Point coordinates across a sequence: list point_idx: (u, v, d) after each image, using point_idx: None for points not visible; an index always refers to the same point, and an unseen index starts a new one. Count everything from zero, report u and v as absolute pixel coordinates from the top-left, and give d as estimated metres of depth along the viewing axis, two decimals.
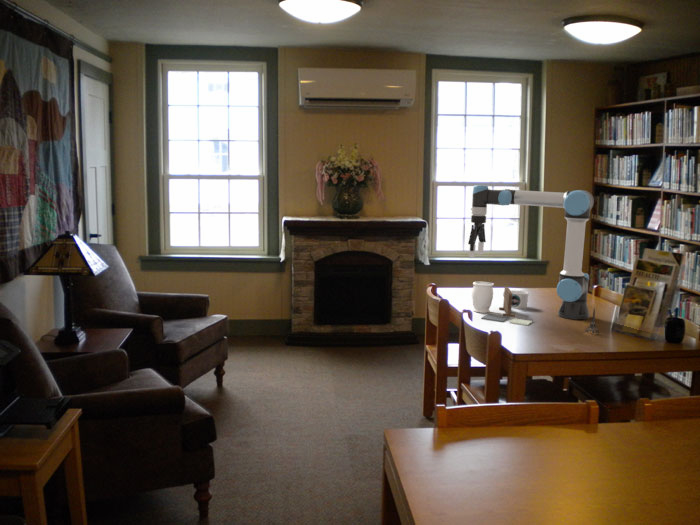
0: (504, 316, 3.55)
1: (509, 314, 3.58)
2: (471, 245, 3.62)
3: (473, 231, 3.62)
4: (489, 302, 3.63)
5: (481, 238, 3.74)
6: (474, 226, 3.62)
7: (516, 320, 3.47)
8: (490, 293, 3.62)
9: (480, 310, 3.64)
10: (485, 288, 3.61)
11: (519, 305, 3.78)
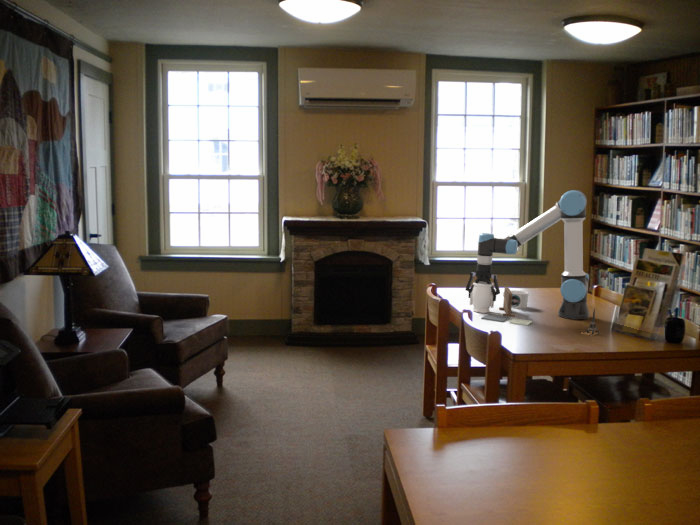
0: (504, 316, 3.55)
1: (509, 314, 3.58)
2: None
3: None
4: (489, 302, 3.63)
5: None
6: None
7: (516, 320, 3.47)
8: (490, 293, 3.62)
9: (480, 310, 3.64)
10: (485, 287, 3.61)
11: (519, 305, 3.78)
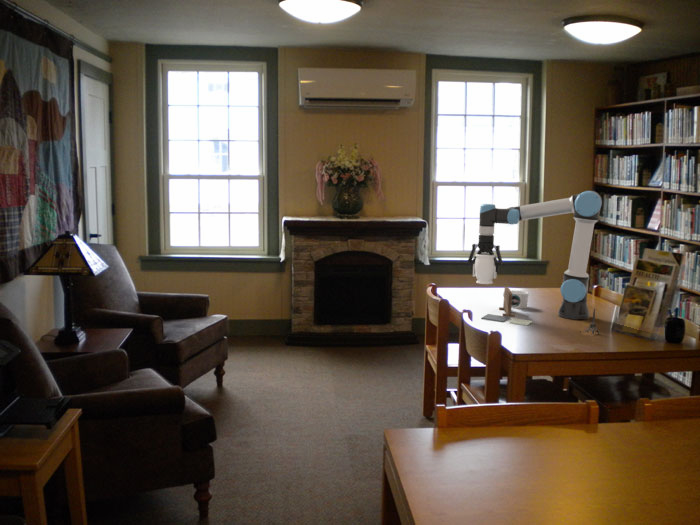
0: (504, 316, 3.55)
1: (509, 314, 3.58)
2: None
3: None
4: (492, 273, 3.61)
5: None
6: None
7: (516, 320, 3.47)
8: (492, 264, 3.60)
9: (483, 281, 3.62)
10: (487, 258, 3.59)
11: (519, 305, 3.78)
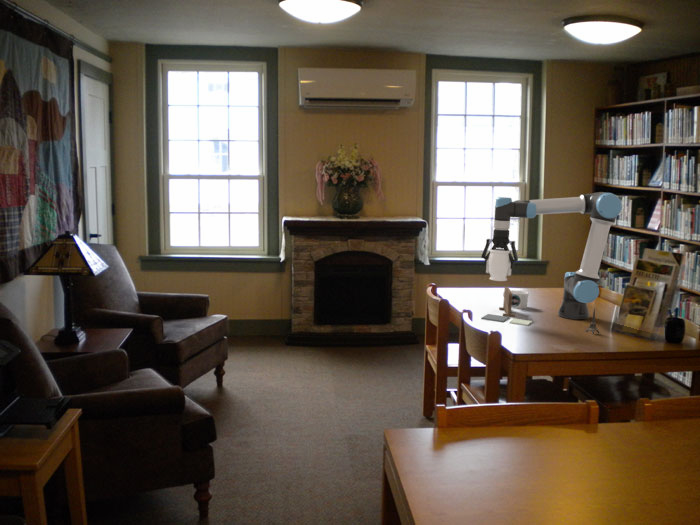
0: (504, 316, 3.55)
1: (509, 314, 3.58)
2: None
3: None
4: (506, 270, 3.45)
5: None
6: None
7: (516, 320, 3.47)
8: (507, 260, 3.44)
9: (497, 278, 3.46)
10: (502, 254, 3.43)
11: (519, 305, 3.78)
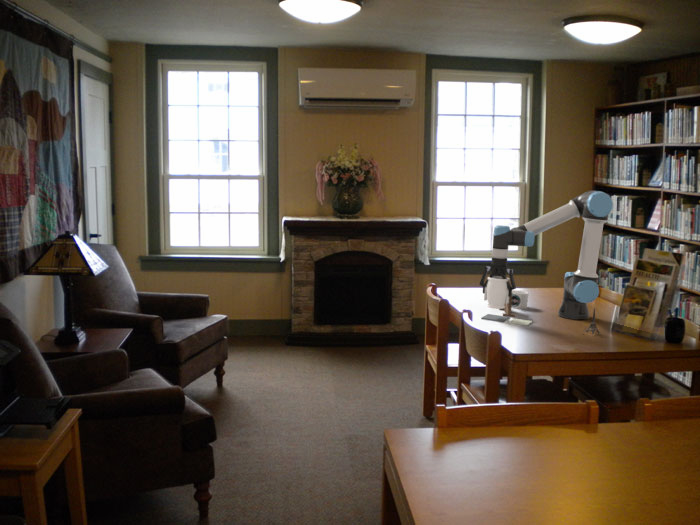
0: (504, 316, 3.55)
1: (509, 314, 3.58)
2: None
3: None
4: (504, 297, 3.47)
5: None
6: None
7: (516, 320, 3.47)
8: (505, 288, 3.46)
9: (495, 306, 3.48)
10: (500, 282, 3.45)
11: (519, 305, 3.78)
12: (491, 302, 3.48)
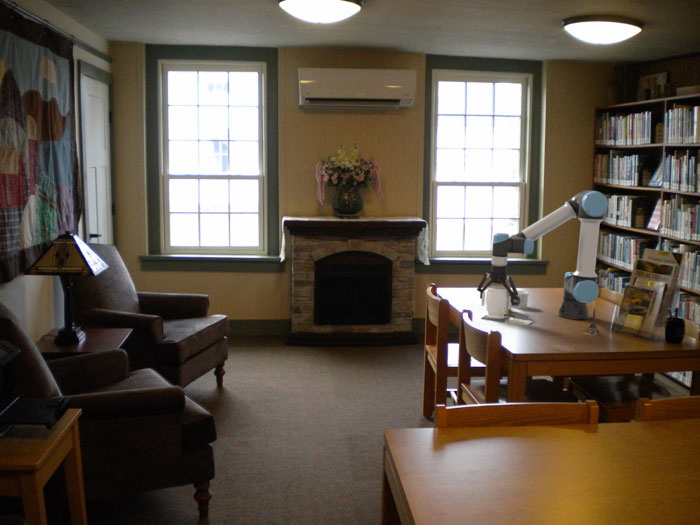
0: None
1: (509, 314, 3.58)
2: None
3: None
4: (504, 308, 3.48)
5: None
6: (484, 274, 3.52)
7: (516, 320, 3.47)
8: (504, 298, 3.46)
9: (494, 316, 3.48)
10: (499, 292, 3.46)
11: (519, 305, 3.78)
12: (491, 312, 3.49)
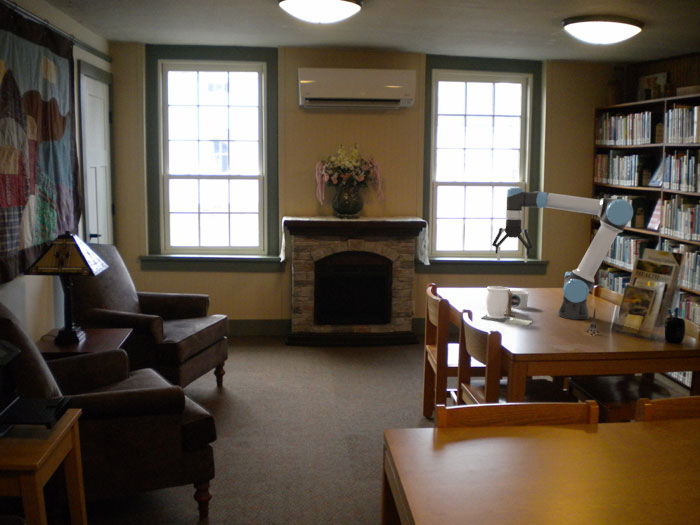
0: (504, 316, 3.55)
1: (509, 314, 3.58)
2: None
3: None
4: (504, 308, 3.48)
5: None
6: (499, 229, 3.57)
7: (516, 320, 3.47)
8: (505, 298, 3.46)
9: (494, 316, 3.48)
10: (499, 292, 3.46)
11: (519, 305, 3.78)
12: (491, 312, 3.49)
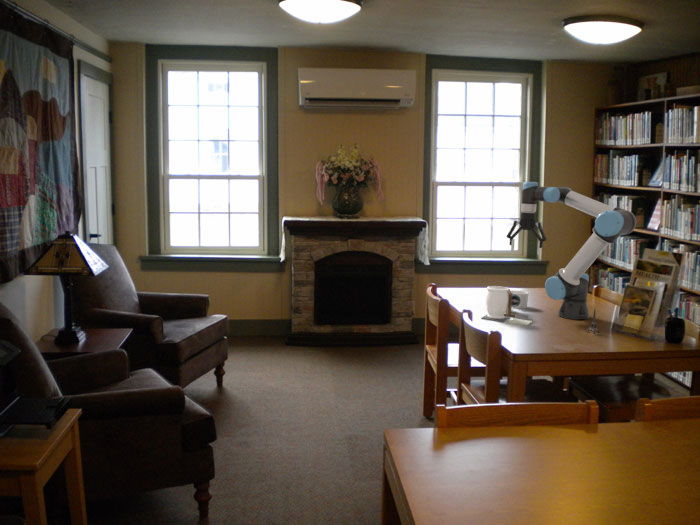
0: (504, 316, 3.55)
1: (509, 314, 3.58)
2: None
3: None
4: (504, 308, 3.48)
5: None
6: (514, 221, 3.68)
7: (516, 320, 3.47)
8: (505, 298, 3.46)
9: (494, 316, 3.48)
10: (499, 292, 3.46)
11: (519, 305, 3.78)
12: (491, 312, 3.49)
